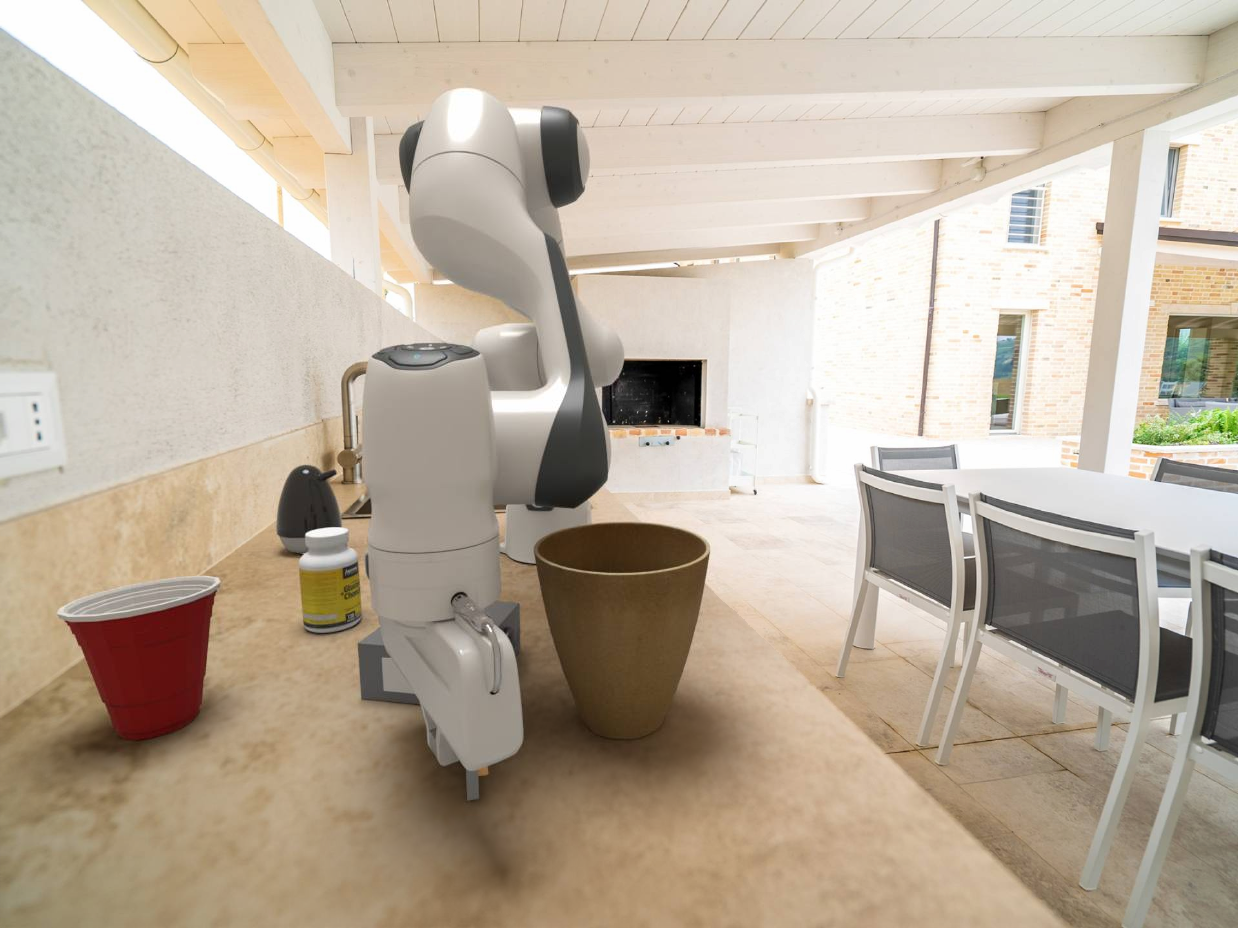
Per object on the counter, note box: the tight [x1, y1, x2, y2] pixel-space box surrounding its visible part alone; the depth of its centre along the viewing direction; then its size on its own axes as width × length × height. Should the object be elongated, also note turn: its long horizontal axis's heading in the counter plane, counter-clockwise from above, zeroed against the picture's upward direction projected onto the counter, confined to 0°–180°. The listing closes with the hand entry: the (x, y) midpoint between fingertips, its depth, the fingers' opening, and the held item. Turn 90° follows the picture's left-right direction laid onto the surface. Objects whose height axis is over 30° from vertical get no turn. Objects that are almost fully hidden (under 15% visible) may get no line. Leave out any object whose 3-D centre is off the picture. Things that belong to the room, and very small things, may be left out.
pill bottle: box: [298, 527, 363, 634], centre depth 70 cm, size 6×6×12 cm
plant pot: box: [534, 521, 711, 740], centre depth 50 cm, size 15×15×16 cm
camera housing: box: [357, 600, 522, 705], centre depth 59 cm, size 12×12×6 cm
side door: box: [465, 766, 489, 801], centre depth 46 cm, size 2×12×5 cm, turn 14°
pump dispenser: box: [275, 464, 343, 554], centre depth 101 cm, size 10×10×15 cm
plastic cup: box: [56, 575, 222, 741], centre depth 50 cm, size 11×11×12 cm
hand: (445, 753), depth 43 cm, fingers closed
